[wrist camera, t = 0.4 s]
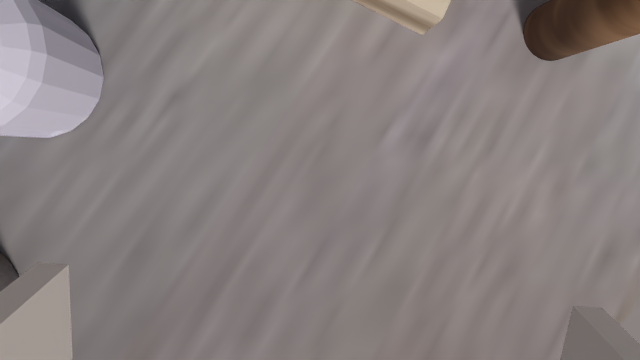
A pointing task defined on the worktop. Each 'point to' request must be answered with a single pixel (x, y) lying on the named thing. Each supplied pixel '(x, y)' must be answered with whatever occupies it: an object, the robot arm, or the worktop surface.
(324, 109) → the worktop surface
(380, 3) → the socket block
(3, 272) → the pillar candle
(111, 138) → the worktop surface
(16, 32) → the soap bottle
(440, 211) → the worktop surface
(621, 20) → the peg
